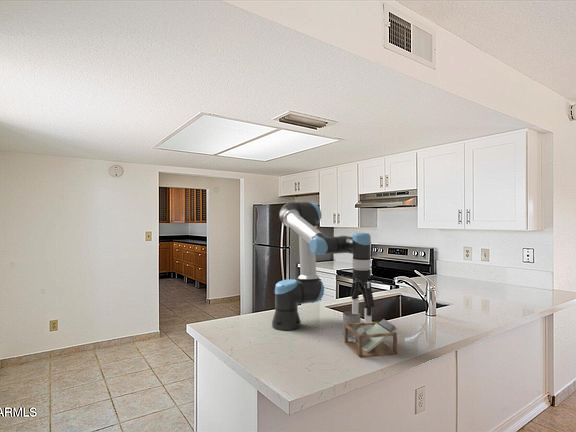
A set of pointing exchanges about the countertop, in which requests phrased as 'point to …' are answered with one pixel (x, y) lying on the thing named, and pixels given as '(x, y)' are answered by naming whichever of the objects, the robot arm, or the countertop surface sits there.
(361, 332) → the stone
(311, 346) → the countertop surface
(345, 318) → the cup
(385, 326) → the trapdoor
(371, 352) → the frame
